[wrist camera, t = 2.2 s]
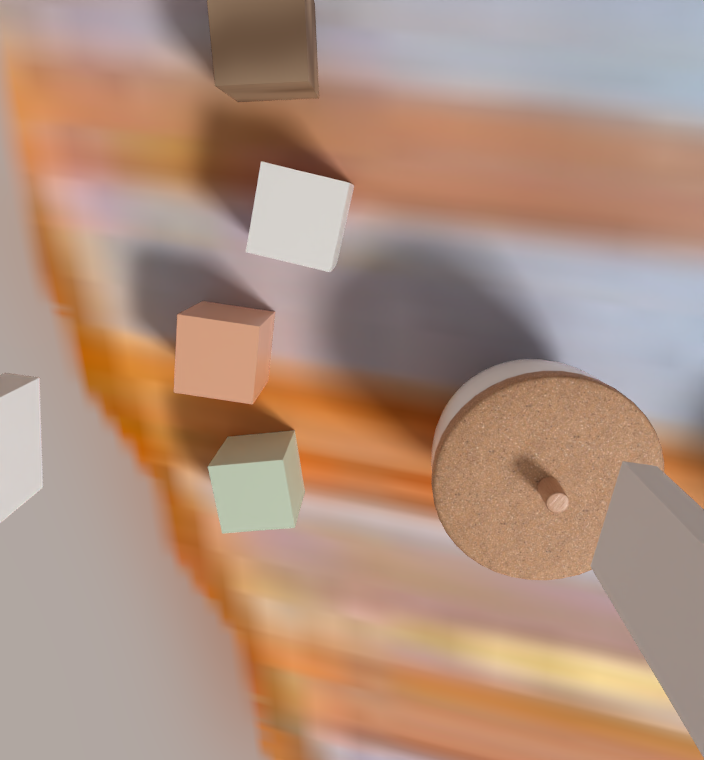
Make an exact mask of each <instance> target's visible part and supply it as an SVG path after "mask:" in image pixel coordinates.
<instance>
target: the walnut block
mask: <svg viewBox="0 0 704 760" xmlns="http://www.w3.org/2000/svg"><path fill="white" fill-rule="evenodd" d="M207 6H208V16H209V27H210V38H211V48H212V59H213V69H214V80H215V86H216V87H217V88H219V89H220V90H222V91H223V92H225V93H226V94H227V95H229V96H230V97H232V98H233V99H234V100H236V101H237V102H251V101H272V100H293V99H314V98H319V85H318V63H317V42H316V20H315V3H314V0H207Z"/></svg>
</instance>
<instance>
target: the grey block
mask: <svg viewBox="0 0 704 760" xmlns="http://www.w3.org/2000/svg"><path fill="white" fill-rule="evenodd" d="M353 189H354V185H352V184H351V183H348V182H344V181H340V180H336V179H332V178H328V177H324V176H319V175H315V174H311V173H307V172H303V171H299V170H295V169H291V168H286V167H282V166H278V165H274V164H270V163H266V162H262V161H261V165H260V171H259V177H258V183H257V188H256V194H255V200H254V206H253V212H252V218H251V224H250V230H249V236H248V242H247V248H246V252H247V253H252V254H256V255H260V256H264V257H268V258H273V259H277V260H281V261H285V262H289V263H293V264H298V265H302V266H306V267H310V268H314V269H318V270H323V271H327V272H331V271H332V270H333V268H334V267H335V266H336V265H337V262H338V258H339V253H340V248H341V244H342V239H343V235H344V230H345V226H346V221H347V216H348V212H349V207H350V203H351V198H352V194H353Z"/></svg>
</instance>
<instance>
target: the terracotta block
mask: <svg viewBox="0 0 704 760" xmlns="http://www.w3.org/2000/svg"><path fill="white" fill-rule="evenodd" d="M274 318H275V312H274V311H267V310H260V309H253V308H247V307H240V306H233V305H226V304H220V303H213V302H206V301H202V302H200V303H198V304H196V305H194V306H192V307H190V308H188V309H186V310H185V311H183V312H181V313H179V314H177V332H176V354H175V377H174V393H180V394H187V395H193V396H200V397H207V398H213V399H220V400H227V401H233V402H240V403H246V404H253V403H254V402H255V400H256V399H257V397H258V396H259V394H260V393H261V391H262V390H263V388H264V387H265V385H266V384H267V382H268V379H269V369H270V359H271V349H272V338H273V328H274Z"/></svg>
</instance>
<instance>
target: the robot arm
mask: <svg viewBox="0 0 704 760" xmlns="http://www.w3.org/2000/svg"><path fill="white" fill-rule="evenodd" d="M42 488H43V476H42V444H41V412H40V380H39V378H38V377H31V376H24V375H17V374H10V373H4V374H2V375H0V523H1V522H2V521H3V520H5V519H6V518H7V517H8V516H9V515H11V514H12V513H13V512H14V511H15V510H17V508H19V507H20V506H21V505H23V504H24V503H25V502H26V501H27V500H28V499H30V498H31V497H32V496H33V495H35V494H36V493H37V492H38V491H39V490H41V489H42ZM591 568H592V570H593V571H594V573H595V575H596V577H597V578H598V580H599V582H600V583H601V585H602V587H603V588H604V590H605V592H606V593H607V595H608V597H609V598H610V600H611V602H612V604H613V605H614V607H615V609H616V610H617V612H618V614H619V615H620V617H621V619H622V620H623V622H624V624H625V626H626V627H627V629H628V631H629V632H630V634H631V636H632V637H633V639H634V641H635V642H636V644H637V646H638V647H639V649H640V651H641V653H642V654H643V656H644V658H645V659H646V661H647V663H648V664H649V666H650V668H651V669H652V671H653V673H654V675H655V676H656V678H657V680H658V681H659V683H660V685H661V686H662V688H663V690H664V691H665V693H666V695H667V696H668V698H669V700H670V702H671V703H672V705H673V707H674V708H675V710H676V712H677V713H678V715H679V717H680V718H681V720H682V722H683V724H684V725H685V727H686V729H687V730H688V732H689V734H690V735H691V737H692V739H693V740H694V742H695V744H696V745H697V747H698V749H699V751H700V752H701V754H702V756H703V757H704V509H702V508H701V507H700V506H699V505H698V504H697V503H696V502H695V501H694V500H693V499H692V498H691V497H690V496H688V495H687V494H686V493H685V492H684V491H683V490H682V489H681V488H680V487H679V486H678V485H677V484H675V483H674V482H673V481H672V480H671V479H670V478H669V477H668V476H667V475H666V474H665V473H664V472H663V471H661V470H660V469H659V468H658V467H657V466H652V465H645V464H639V463H632V462H625V461H623V462H622V465H621V468H620V471H619V475H618V478H617V481H616V485H615V488H614V491H613V494H612V498H611V501H610V504H609V507H608V511H607V514H606V517H605V520H604V524H603V527H602V530H601V534H600V537H599V540H598V543H597V547H596V550H595V553H594V556H593V560H592V563H591Z"/></svg>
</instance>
